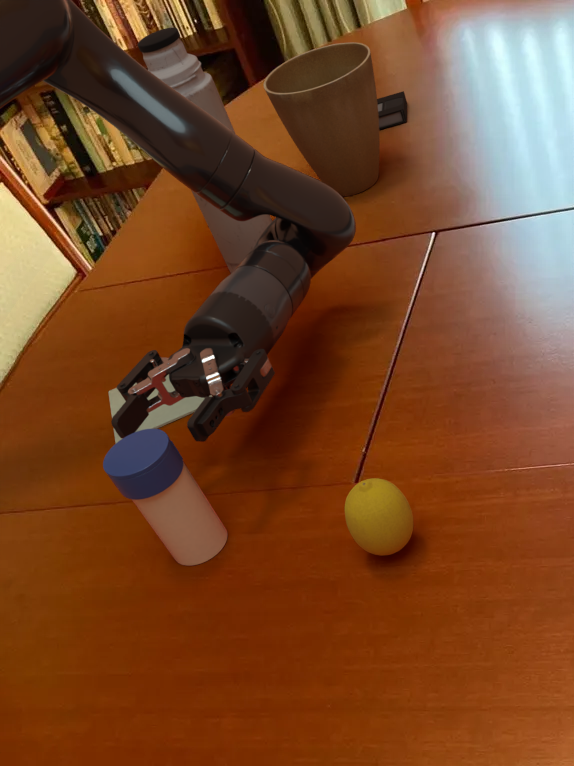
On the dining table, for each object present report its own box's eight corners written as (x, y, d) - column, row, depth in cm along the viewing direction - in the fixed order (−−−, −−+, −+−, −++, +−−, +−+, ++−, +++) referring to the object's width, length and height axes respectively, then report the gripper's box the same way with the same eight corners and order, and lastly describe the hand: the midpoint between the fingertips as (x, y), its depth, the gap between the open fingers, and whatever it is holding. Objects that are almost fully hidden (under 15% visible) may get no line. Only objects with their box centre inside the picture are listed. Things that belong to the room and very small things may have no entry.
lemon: (354, 547, 78) (321, 482, 72) (407, 517, 79) (380, 450, 73) (378, 584, 75) (346, 518, 69) (434, 552, 75) (408, 484, 70)
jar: (169, 571, 83) (103, 482, 74) (177, 530, 86) (115, 441, 78) (225, 557, 82) (165, 466, 74) (230, 517, 86) (173, 425, 77)
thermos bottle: (220, 268, 122) (112, 47, 101) (266, 239, 124) (170, 17, 103) (247, 283, 117) (140, 53, 96) (295, 253, 119) (200, 22, 98)
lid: (178, 442, 80) (163, 418, 78) (190, 479, 76) (174, 454, 74) (115, 472, 79) (99, 448, 77) (124, 510, 75) (107, 486, 73)
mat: (116, 446, 99) (115, 444, 99) (109, 393, 107) (108, 391, 107) (215, 403, 100) (214, 401, 99) (200, 353, 108) (199, 351, 108)
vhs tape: (407, 122, 138) (403, 109, 137) (321, 147, 141) (316, 134, 139) (407, 104, 143) (403, 91, 142) (324, 128, 146) (319, 115, 144)
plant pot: (291, 215, 127) (244, 99, 115) (331, 164, 135) (291, 50, 123) (383, 206, 121) (343, 83, 109) (418, 153, 129) (385, 33, 118)
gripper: (315, 355, 87) (239, 468, 78) (199, 355, 92) (116, 461, 83) (286, 286, 81) (200, 400, 72) (164, 292, 87) (71, 397, 78)
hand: (155, 432), depth 78 cm, fingers open, 8 cm apart
